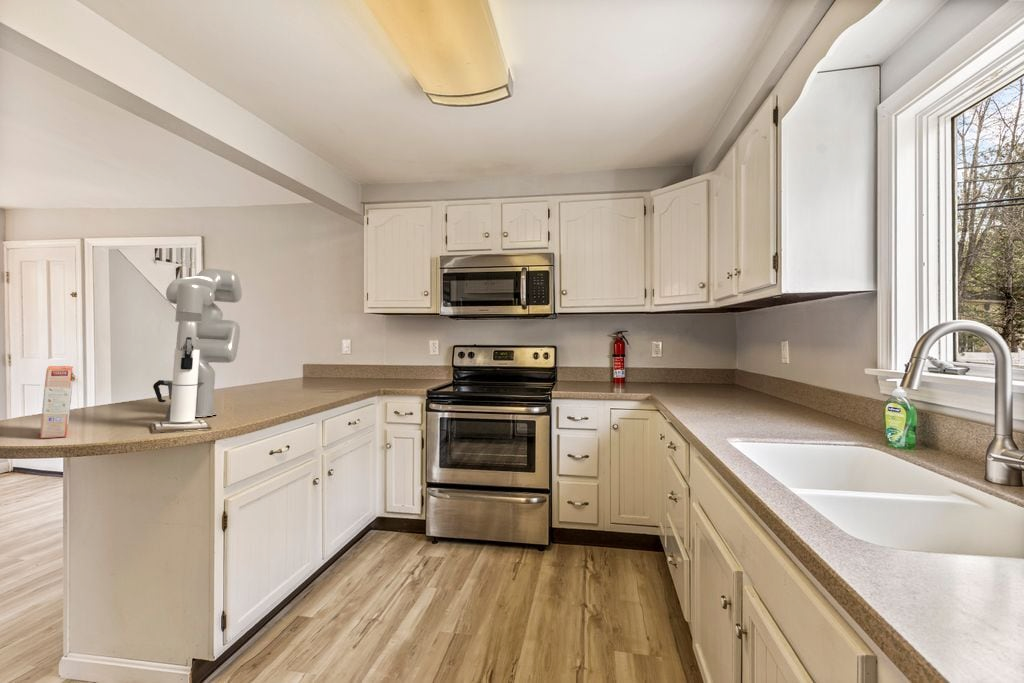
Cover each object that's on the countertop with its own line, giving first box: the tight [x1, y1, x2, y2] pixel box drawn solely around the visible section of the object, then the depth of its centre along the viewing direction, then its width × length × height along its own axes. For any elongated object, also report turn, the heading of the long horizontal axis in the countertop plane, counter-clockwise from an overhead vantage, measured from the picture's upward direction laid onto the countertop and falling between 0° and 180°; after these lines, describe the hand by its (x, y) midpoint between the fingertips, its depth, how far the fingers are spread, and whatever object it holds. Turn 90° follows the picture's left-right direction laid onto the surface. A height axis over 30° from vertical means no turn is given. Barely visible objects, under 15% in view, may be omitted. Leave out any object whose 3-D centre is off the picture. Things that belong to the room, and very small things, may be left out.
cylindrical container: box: [170, 348, 200, 422], centre depth 157 cm, size 7×7×25 cm
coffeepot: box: [152, 379, 204, 421], centre depth 169 cm, size 15×9×18 cm, turn 129°
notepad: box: [150, 419, 212, 434], centre depth 157 cm, size 14×16×2 cm
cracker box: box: [39, 365, 74, 439], centre depth 138 cm, size 14×6×21 cm, turn 44°
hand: (185, 368), depth 157 cm, fingers closed on cylindrical container, 7 cm apart
